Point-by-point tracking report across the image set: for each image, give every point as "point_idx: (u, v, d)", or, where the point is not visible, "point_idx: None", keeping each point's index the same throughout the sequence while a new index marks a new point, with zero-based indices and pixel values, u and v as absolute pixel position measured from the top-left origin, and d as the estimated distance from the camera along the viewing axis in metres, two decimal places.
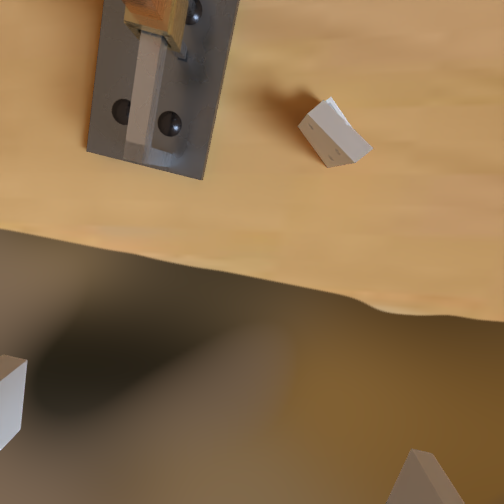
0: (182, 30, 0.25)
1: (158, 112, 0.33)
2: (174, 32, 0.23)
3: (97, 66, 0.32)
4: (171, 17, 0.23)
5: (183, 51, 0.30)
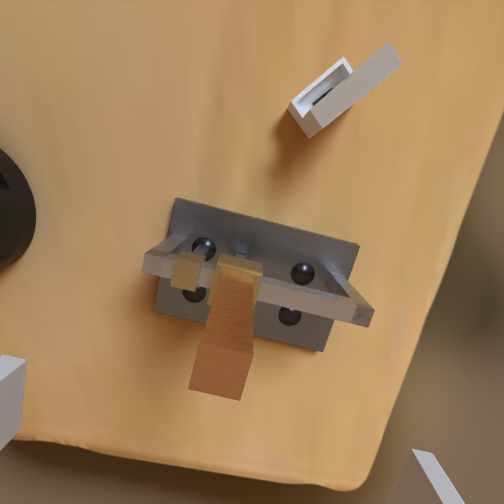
0: (246, 260, 0.26)
1: None
2: (257, 269, 0.24)
3: None
4: (248, 272, 0.23)
5: (243, 257, 0.31)
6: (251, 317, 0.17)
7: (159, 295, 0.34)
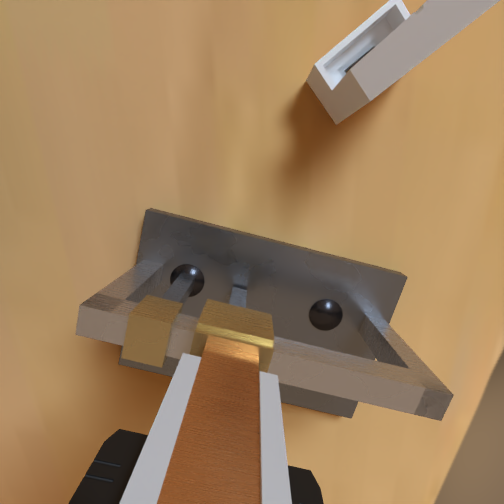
0: (246, 311, 0.16)
1: (309, 328, 0.24)
2: (264, 332, 0.15)
3: None
4: (249, 339, 0.14)
5: (242, 294, 0.22)
6: (256, 501, 0.07)
7: None
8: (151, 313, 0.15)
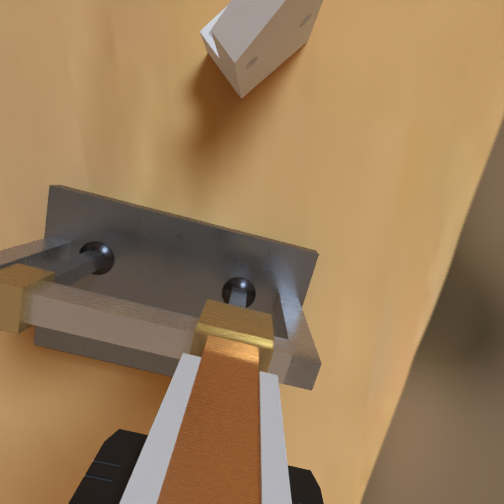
0: (246, 311, 0.16)
1: None
2: (264, 332, 0.15)
3: (170, 375, 0.25)
4: (249, 339, 0.14)
5: (242, 294, 0.22)
6: (255, 501, 0.07)
7: None
8: (6, 278, 0.14)
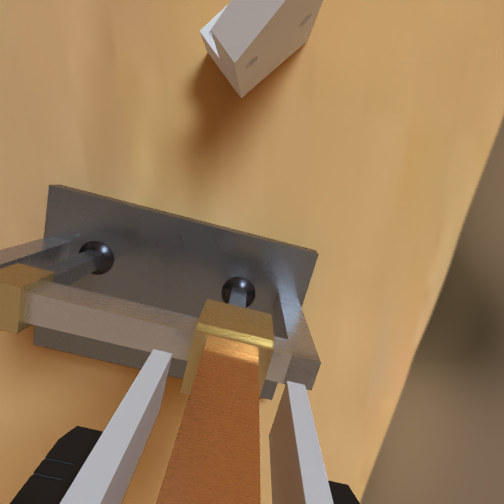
0: (246, 311, 0.16)
1: None
2: (264, 332, 0.15)
3: (170, 375, 0.25)
4: (249, 339, 0.14)
5: (241, 293, 0.22)
6: (255, 501, 0.07)
7: None
8: (5, 278, 0.14)
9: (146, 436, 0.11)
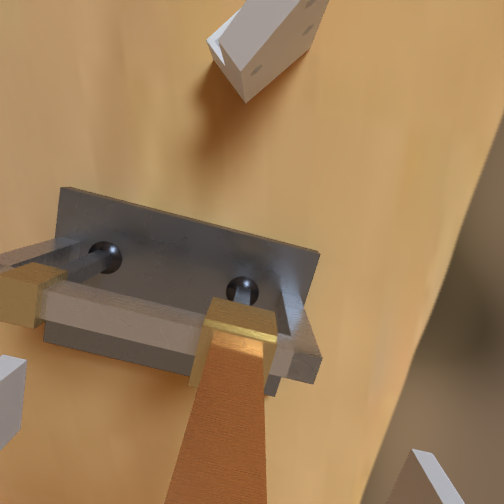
0: (251, 308, 0.17)
1: None
2: (268, 328, 0.15)
3: (175, 371, 0.26)
4: (253, 335, 0.15)
5: (246, 292, 0.23)
6: (262, 478, 0.08)
7: None
8: (22, 276, 0.15)
9: None
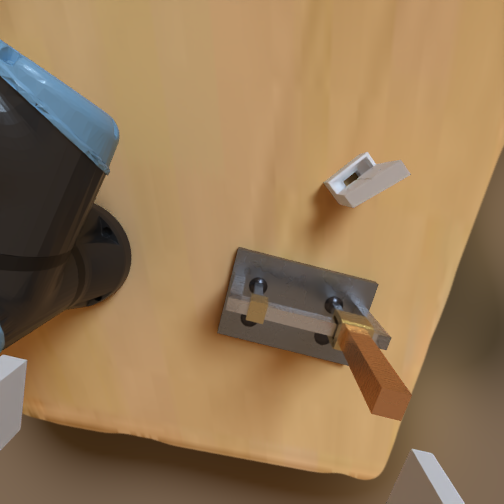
0: (355, 315, 0.36)
1: (324, 312, 0.43)
2: (367, 324, 0.34)
3: (291, 350, 0.45)
4: (363, 326, 0.34)
5: (338, 305, 0.42)
6: (391, 367, 0.27)
7: (222, 320, 0.44)
8: (258, 300, 0.34)
9: None
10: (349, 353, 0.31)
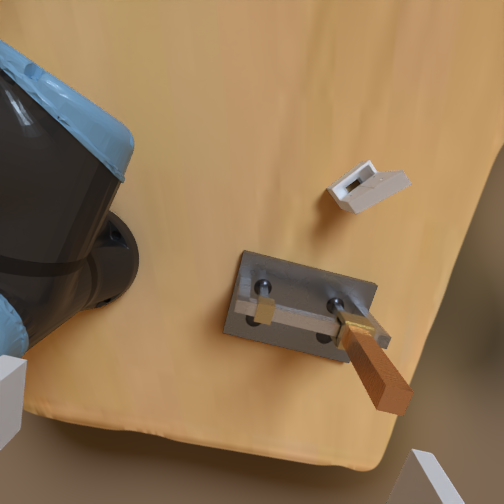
0: (357, 316, 0.38)
1: (326, 312, 0.45)
2: (369, 324, 0.36)
3: (294, 349, 0.47)
4: (365, 327, 0.35)
5: (340, 306, 0.43)
6: (393, 366, 0.29)
7: (228, 321, 0.46)
8: (266, 303, 0.36)
9: None
10: (353, 353, 0.33)
